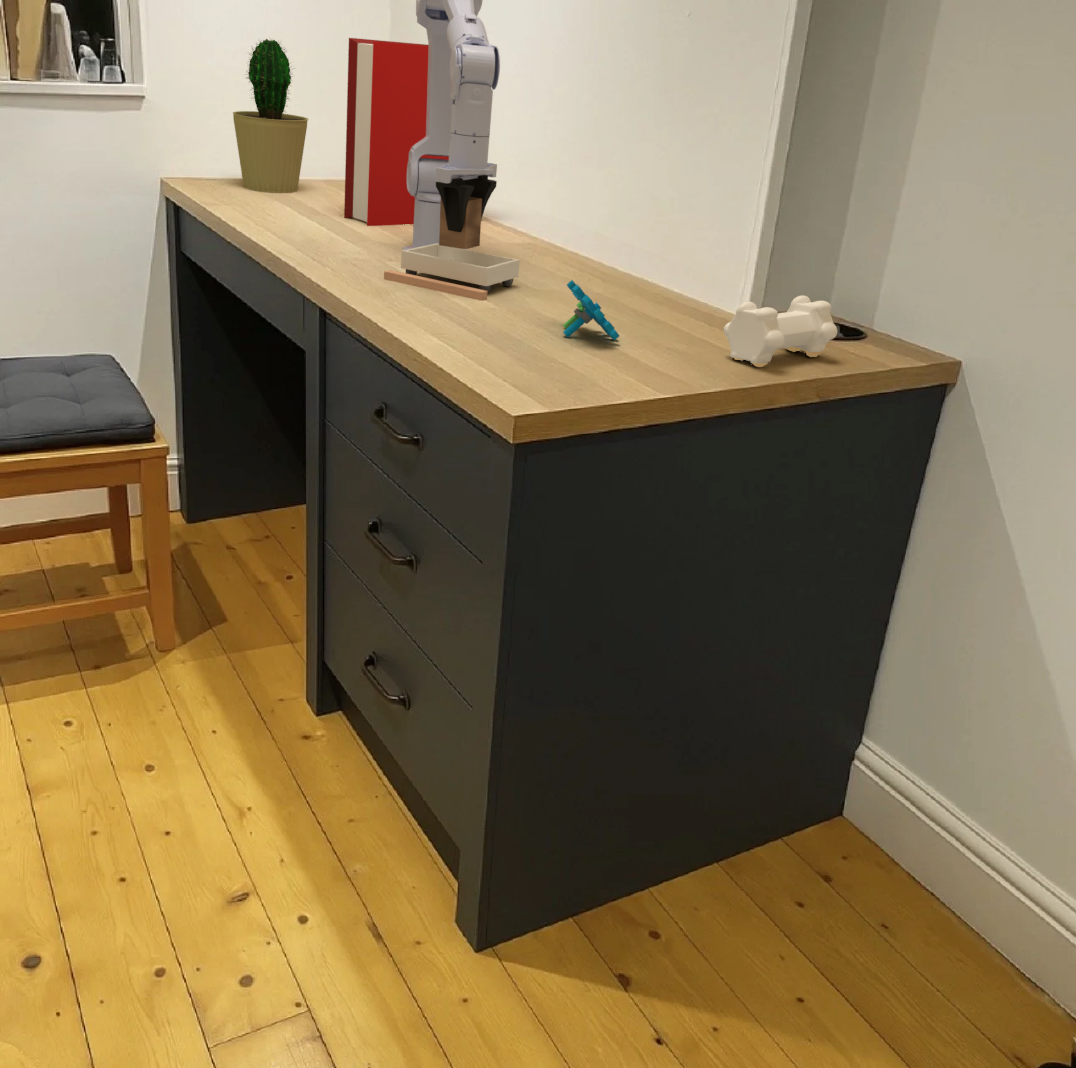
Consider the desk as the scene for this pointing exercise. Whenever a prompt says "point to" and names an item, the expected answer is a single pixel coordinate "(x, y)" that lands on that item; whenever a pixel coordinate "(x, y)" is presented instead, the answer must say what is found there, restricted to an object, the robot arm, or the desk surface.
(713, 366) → the desk surface
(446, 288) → the thin flat board
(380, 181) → the book
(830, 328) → the white bone
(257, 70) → the potted cactus
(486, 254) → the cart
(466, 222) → the walnut block
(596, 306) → the gear
